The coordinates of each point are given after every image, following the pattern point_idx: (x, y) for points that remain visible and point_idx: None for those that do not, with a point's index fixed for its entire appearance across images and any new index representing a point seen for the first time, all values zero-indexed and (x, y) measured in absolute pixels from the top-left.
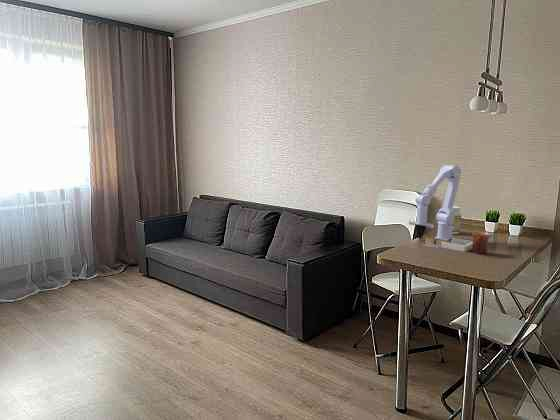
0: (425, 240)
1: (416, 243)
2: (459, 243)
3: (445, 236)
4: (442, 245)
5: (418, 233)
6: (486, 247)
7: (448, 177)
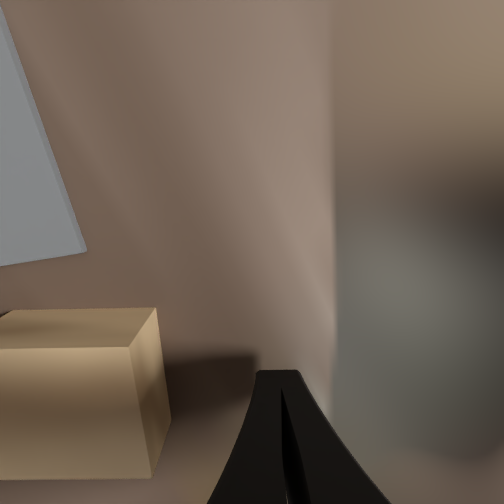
0: (136, 325)
1: (200, 87)
2: None
3: None
4: None
5: (315, 444)
6: None
7: None
